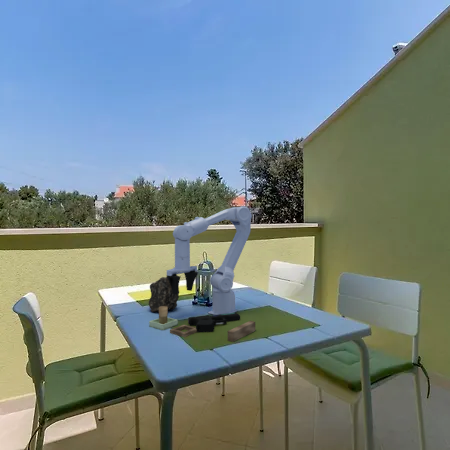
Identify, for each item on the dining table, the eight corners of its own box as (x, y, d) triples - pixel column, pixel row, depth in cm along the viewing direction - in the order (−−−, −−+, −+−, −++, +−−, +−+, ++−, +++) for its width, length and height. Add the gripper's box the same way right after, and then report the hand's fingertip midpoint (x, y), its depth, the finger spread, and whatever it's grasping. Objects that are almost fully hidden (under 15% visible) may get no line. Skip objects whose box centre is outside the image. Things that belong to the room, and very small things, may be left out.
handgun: (250, 328, 110) (236, 318, 121) (250, 319, 110) (236, 310, 121) (197, 334, 102) (187, 324, 113) (197, 325, 102) (187, 315, 114)
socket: (184, 328, 109) (184, 324, 109) (198, 331, 105) (198, 328, 105) (169, 333, 104) (169, 329, 104) (184, 337, 100) (184, 333, 100)
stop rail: (250, 329, 107) (250, 320, 107) (255, 330, 106) (255, 321, 106) (227, 340, 97) (227, 331, 97) (232, 342, 96) (232, 332, 96)
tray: (164, 321, 116) (164, 316, 116) (177, 325, 112) (177, 319, 112) (149, 326, 110) (149, 321, 110) (162, 330, 106) (162, 324, 106)
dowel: (169, 324, 111) (169, 306, 112) (162, 326, 109) (162, 308, 109) (163, 322, 113) (163, 305, 114) (157, 324, 111) (157, 307, 111)
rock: (165, 307, 141) (190, 306, 133) (143, 315, 131) (169, 314, 122) (161, 276, 143) (185, 272, 134) (138, 280, 132) (163, 277, 124)
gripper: (187, 254, 129) (188, 287, 129) (160, 257, 117) (161, 294, 117) (200, 255, 125) (201, 289, 125) (174, 258, 113) (174, 296, 113)
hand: (182, 292), depth 121 cm, fingers open, 7 cm apart
